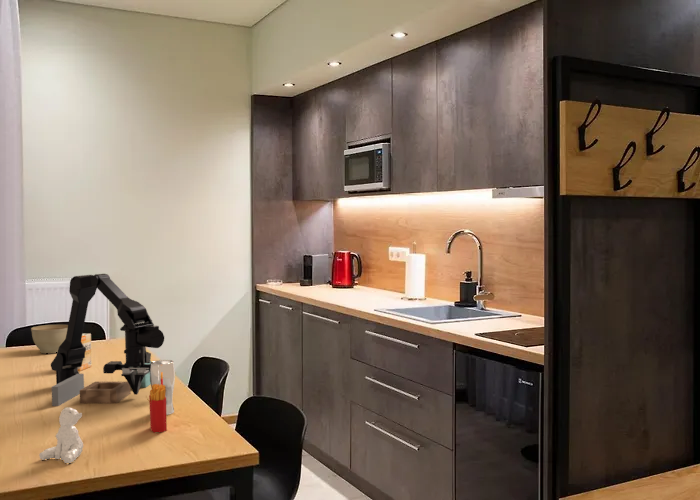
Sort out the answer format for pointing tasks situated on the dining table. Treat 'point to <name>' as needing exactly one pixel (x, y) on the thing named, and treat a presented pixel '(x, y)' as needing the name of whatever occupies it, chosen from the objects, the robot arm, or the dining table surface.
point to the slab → (67, 389)
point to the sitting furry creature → (66, 438)
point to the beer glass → (164, 380)
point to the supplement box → (87, 360)
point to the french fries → (158, 408)
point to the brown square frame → (105, 392)
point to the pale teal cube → (145, 380)
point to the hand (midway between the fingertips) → (136, 394)
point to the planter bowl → (49, 337)
